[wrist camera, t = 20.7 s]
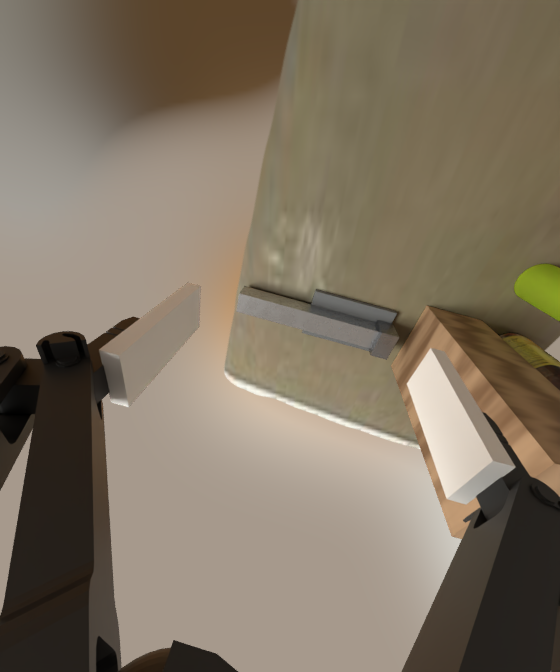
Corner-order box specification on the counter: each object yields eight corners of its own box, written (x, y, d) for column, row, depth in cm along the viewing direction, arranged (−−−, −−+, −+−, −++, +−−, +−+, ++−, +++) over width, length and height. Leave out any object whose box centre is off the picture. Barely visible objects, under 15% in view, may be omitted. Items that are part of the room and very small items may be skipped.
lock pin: (241, 306, 50) (234, 317, 46) (245, 283, 47) (237, 292, 43) (381, 344, 50) (386, 359, 46) (393, 323, 47) (399, 337, 43)
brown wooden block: (391, 365, 53) (451, 536, 28) (426, 305, 46) (554, 463, 20) (438, 378, 53) (542, 561, 28) (481, 320, 46) (679, 497, 20)
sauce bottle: (523, 355, 48) (631, 451, 31) (484, 361, 50) (566, 455, 33) (527, 325, 45) (648, 413, 28) (485, 333, 47) (575, 419, 30)
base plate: (302, 330, 52) (302, 332, 51) (315, 289, 47) (315, 291, 46) (375, 350, 52) (375, 353, 51) (395, 311, 47) (397, 313, 46)
